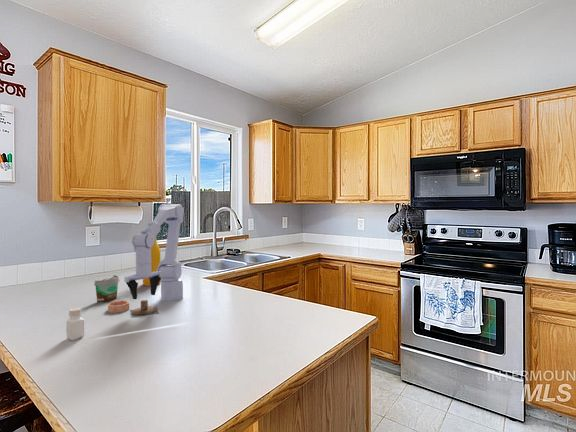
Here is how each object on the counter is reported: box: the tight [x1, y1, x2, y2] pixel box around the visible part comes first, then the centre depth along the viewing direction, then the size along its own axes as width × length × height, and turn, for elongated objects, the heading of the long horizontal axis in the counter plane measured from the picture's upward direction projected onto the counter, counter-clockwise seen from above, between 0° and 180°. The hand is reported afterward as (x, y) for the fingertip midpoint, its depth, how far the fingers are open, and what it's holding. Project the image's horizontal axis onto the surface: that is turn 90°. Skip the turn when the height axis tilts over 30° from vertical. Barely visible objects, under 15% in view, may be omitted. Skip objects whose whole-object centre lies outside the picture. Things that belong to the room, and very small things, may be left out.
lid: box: [132, 299, 156, 316], centre depth 131 cm, size 9×9×4 cm
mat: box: [129, 306, 160, 318], centre depth 131 cm, size 10×10×1 cm
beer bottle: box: [142, 236, 162, 287], centre depth 179 cm, size 9×9×29 cm
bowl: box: [107, 299, 130, 314], centre depth 134 cm, size 8×8×3 cm
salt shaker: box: [66, 307, 85, 341], centre depth 106 cm, size 4×4×10 cm
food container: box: [93, 275, 120, 303], centre depth 150 cm, size 12×6×10 cm, turn 168°
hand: (144, 296), depth 131 cm, fingers open, 7 cm apart
